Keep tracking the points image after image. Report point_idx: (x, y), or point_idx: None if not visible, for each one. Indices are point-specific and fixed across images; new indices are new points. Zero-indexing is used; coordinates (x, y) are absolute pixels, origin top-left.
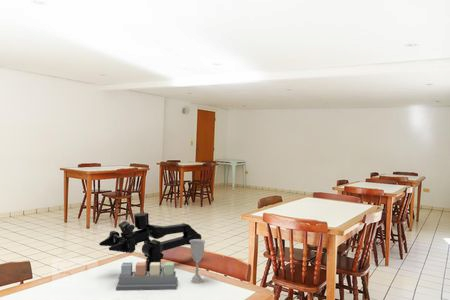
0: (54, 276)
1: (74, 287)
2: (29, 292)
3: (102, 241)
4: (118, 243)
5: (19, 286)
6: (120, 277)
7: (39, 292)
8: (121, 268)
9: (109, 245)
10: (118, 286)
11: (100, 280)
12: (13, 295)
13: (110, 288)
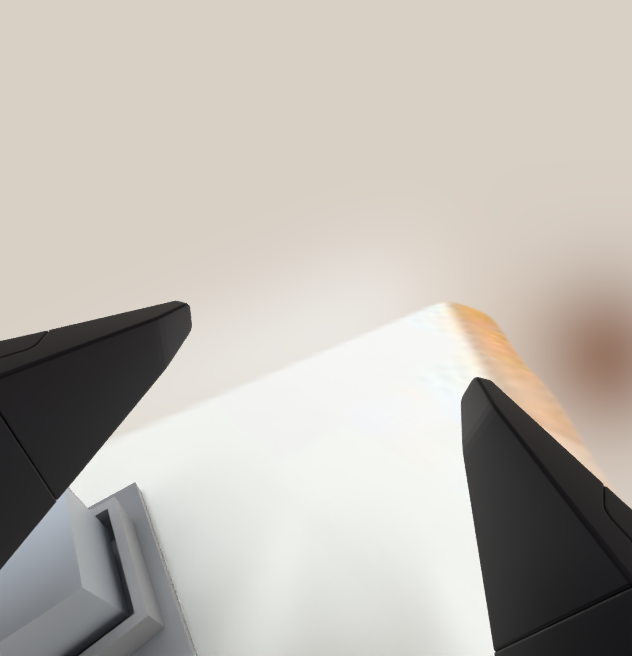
0: (567, 445)
1: (366, 409)
2: (428, 326)
3: (514, 411)
4: (21, 357)
5: (499, 337)
6: (101, 507)
7: (409, 336)
8: (72, 496)
9: (494, 616)
10: (119, 495)
11: (354, 561)
12: (433, 305)
13: (194, 496)
